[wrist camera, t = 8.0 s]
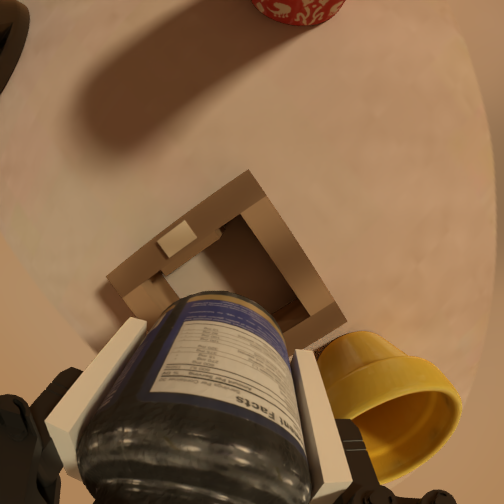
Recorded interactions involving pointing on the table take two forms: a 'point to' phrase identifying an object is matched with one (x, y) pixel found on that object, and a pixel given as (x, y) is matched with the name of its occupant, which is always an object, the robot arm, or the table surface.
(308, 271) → the wooden tray
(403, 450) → the plant pot
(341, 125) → the table surface
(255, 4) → the mug
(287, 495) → the pill bottle
